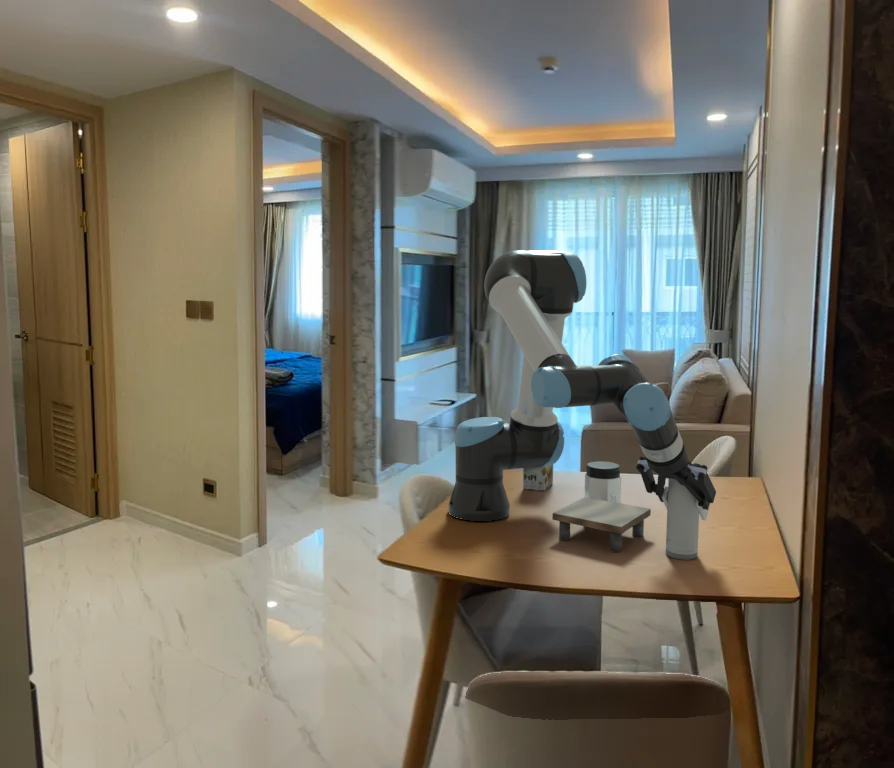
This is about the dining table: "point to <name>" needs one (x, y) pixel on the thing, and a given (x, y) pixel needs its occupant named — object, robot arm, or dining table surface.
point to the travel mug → (681, 522)
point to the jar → (603, 481)
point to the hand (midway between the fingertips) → (688, 511)
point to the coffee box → (538, 477)
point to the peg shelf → (602, 519)
